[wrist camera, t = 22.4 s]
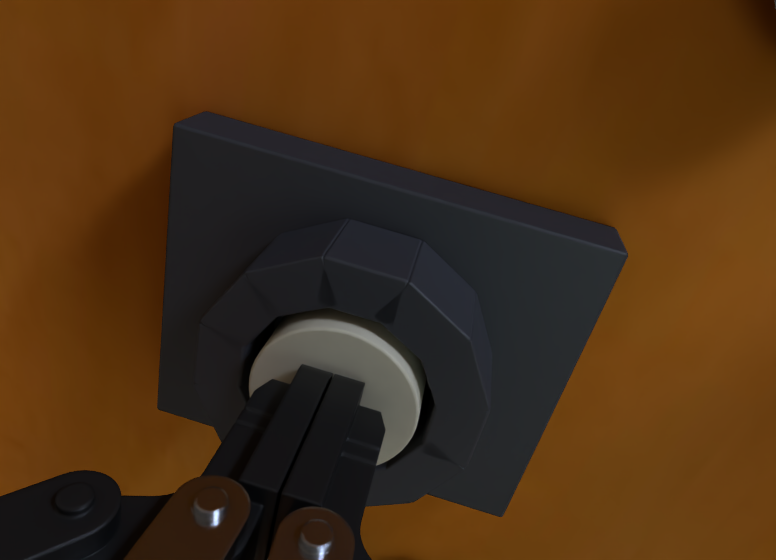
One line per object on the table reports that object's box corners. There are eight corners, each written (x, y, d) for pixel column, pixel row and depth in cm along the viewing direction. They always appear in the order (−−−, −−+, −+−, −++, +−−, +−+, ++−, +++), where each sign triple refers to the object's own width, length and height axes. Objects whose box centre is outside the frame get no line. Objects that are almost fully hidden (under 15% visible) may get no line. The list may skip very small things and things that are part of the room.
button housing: (617, 227, 15) (653, 302, 11) (502, 477, 19) (502, 589, 15) (204, 109, 15) (113, 145, 12) (182, 377, 19) (110, 463, 16)
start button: (446, 318, 14) (439, 360, 12) (405, 441, 16) (395, 491, 14) (286, 271, 14) (258, 305, 12) (264, 397, 16) (239, 441, 14)
